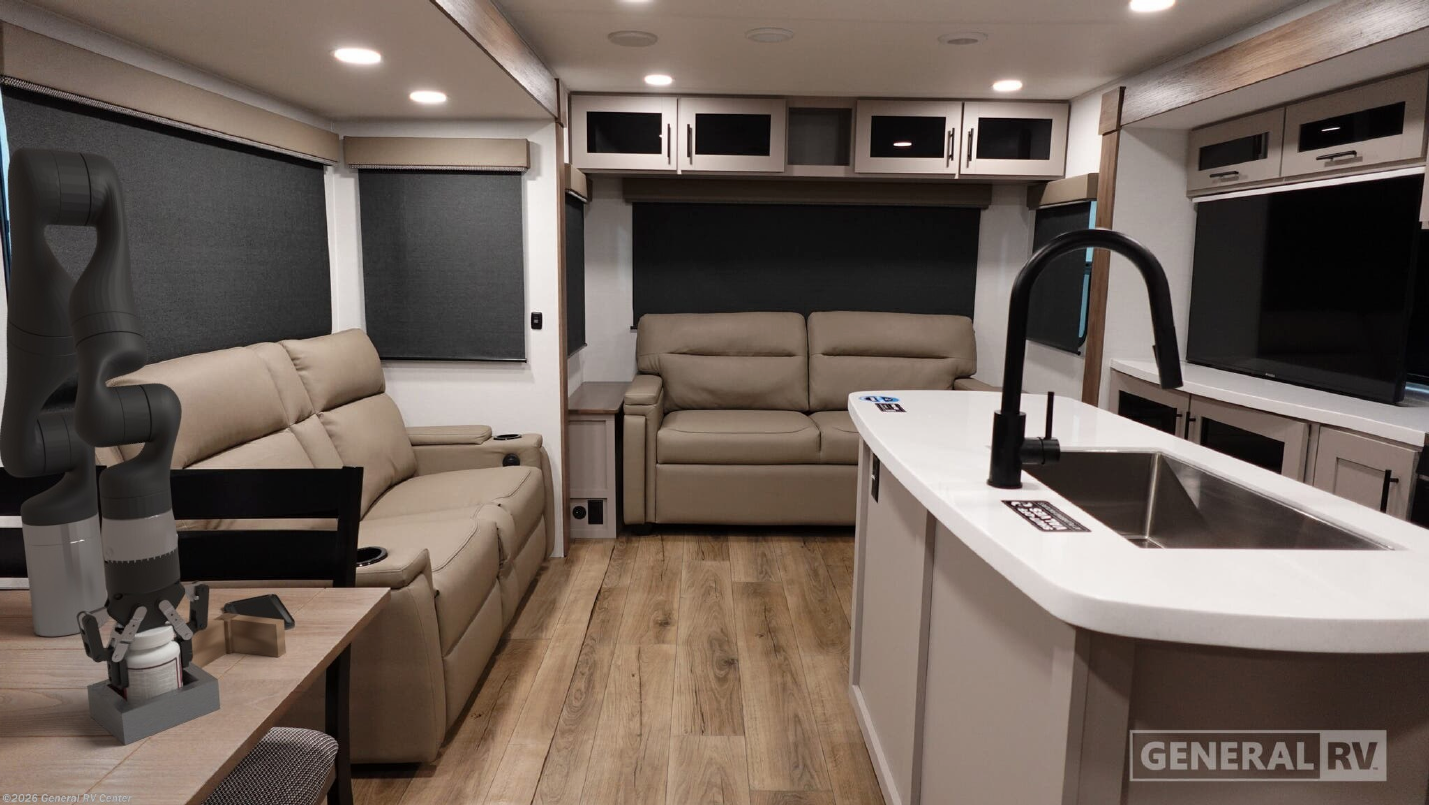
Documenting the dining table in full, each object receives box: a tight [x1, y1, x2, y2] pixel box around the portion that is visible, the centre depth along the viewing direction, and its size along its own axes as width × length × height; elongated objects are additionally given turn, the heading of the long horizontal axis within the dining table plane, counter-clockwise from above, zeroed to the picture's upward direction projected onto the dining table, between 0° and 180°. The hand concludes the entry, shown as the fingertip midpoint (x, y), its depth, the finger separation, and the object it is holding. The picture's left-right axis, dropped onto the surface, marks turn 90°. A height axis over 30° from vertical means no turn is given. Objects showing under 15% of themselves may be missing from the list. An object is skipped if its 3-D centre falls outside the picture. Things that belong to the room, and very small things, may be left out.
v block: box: [190, 612, 287, 669], centre depth 122 cm, size 8×14×5 cm, turn 124°
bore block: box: [86, 662, 221, 746], centre depth 106 cm, size 11×11×4 cm
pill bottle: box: [123, 621, 183, 704], centre depth 106 cm, size 6×6×11 cm
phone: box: [223, 593, 296, 631], centre depth 135 cm, size 8×1×15 cm
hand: (152, 676), depth 106 cm, fingers closed on pill bottle, 6 cm apart
